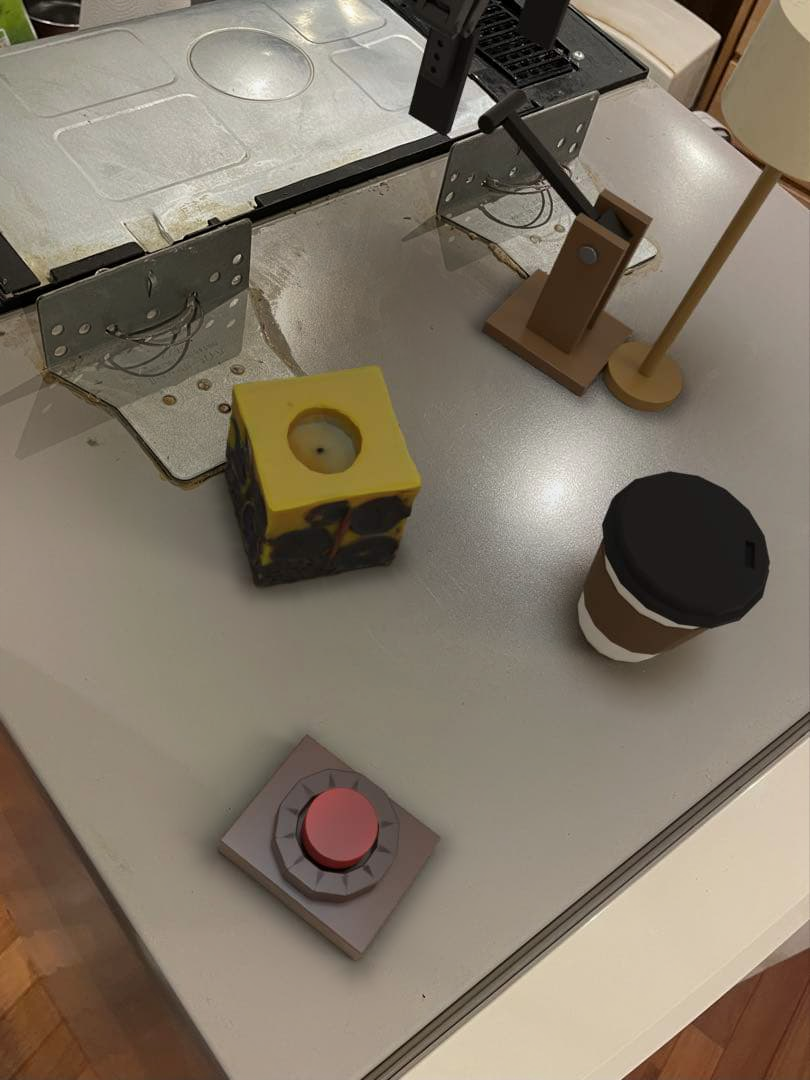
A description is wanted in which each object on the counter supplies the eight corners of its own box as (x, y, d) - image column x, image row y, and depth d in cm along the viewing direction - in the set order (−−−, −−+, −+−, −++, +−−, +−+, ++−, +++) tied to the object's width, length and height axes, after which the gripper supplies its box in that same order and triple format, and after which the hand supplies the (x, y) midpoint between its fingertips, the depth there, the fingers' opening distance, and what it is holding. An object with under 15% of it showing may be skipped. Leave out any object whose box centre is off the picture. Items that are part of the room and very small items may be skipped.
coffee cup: (693, 582, 74) (778, 494, 64) (685, 714, 68) (777, 639, 58) (556, 539, 73) (620, 443, 63) (535, 668, 67) (602, 585, 57)
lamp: (555, 380, 82) (750, 10, 55) (614, 312, 88) (816, -53, 61) (667, 455, 80) (924, 111, 54) (719, 381, 86) (975, 37, 59)
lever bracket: (481, 330, 83) (530, 210, 72) (533, 277, 88) (586, 157, 77) (580, 397, 81) (644, 284, 71) (628, 339, 86) (695, 225, 76)
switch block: (216, 849, 57) (221, 831, 53) (302, 745, 61) (310, 722, 58) (355, 961, 55) (368, 949, 52) (432, 846, 60) (449, 829, 56)
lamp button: (286, 838, 54) (290, 829, 53) (330, 782, 57) (334, 772, 55) (344, 884, 54) (349, 876, 52) (385, 826, 56) (392, 817, 55)
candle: (355, 449, 74) (381, 360, 65) (397, 565, 69) (430, 485, 61) (220, 468, 70) (229, 377, 62) (254, 591, 66) (270, 511, 58)
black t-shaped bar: (470, 127, 73) (488, 107, 71) (504, 100, 76) (522, 80, 74) (592, 274, 75) (612, 258, 73) (620, 243, 78) (642, 227, 76)
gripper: (560, -232, 39) (430, 197, 57) (774, -339, 52) (615, 35, 70) (405, -318, 40) (325, 130, 58) (654, -401, 53) (527, -17, 71)
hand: (484, 79), depth 64 cm, fingers open, 13 cm apart
